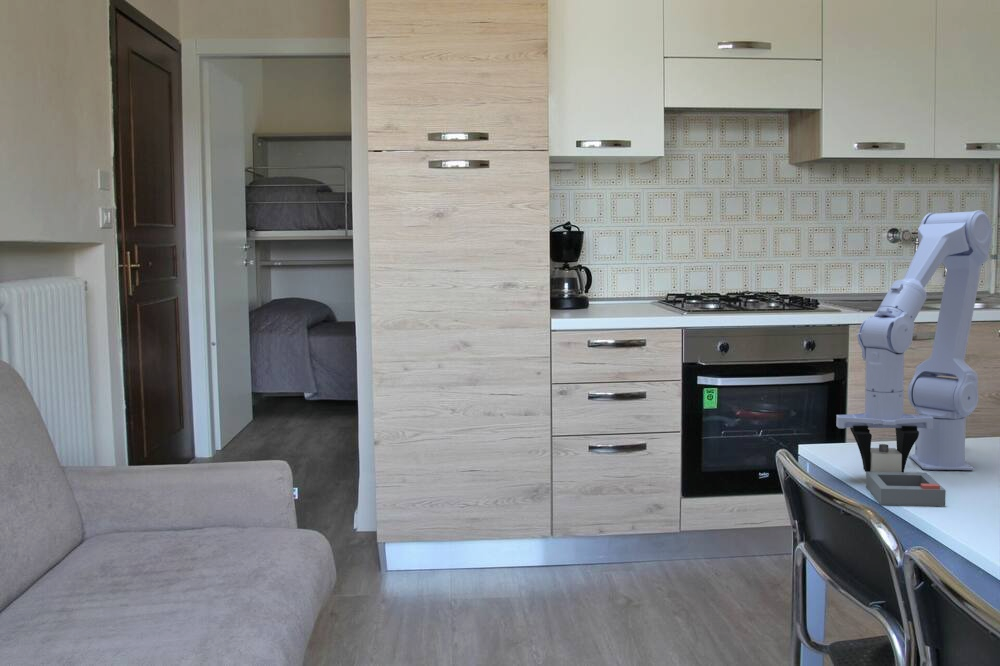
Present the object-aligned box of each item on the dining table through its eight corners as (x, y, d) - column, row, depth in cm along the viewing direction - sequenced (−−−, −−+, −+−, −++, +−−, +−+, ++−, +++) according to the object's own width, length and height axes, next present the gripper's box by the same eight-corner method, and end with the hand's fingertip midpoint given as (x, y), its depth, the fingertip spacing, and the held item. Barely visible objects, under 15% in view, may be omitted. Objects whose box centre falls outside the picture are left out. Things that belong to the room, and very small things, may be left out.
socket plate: (866, 486, 141) (866, 468, 140) (926, 487, 139) (926, 469, 139) (880, 504, 131) (880, 485, 130) (945, 506, 129) (945, 486, 129)
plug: (865, 476, 146) (866, 441, 146) (894, 477, 146) (894, 442, 145) (871, 484, 142) (872, 448, 141) (901, 484, 141) (901, 448, 141)
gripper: (842, 393, 140) (841, 476, 141) (939, 393, 137) (937, 478, 138) (834, 386, 147) (833, 465, 148) (926, 386, 144) (925, 466, 145)
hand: (883, 470), depth 144 cm, fingers closed on plug, 4 cm apart
